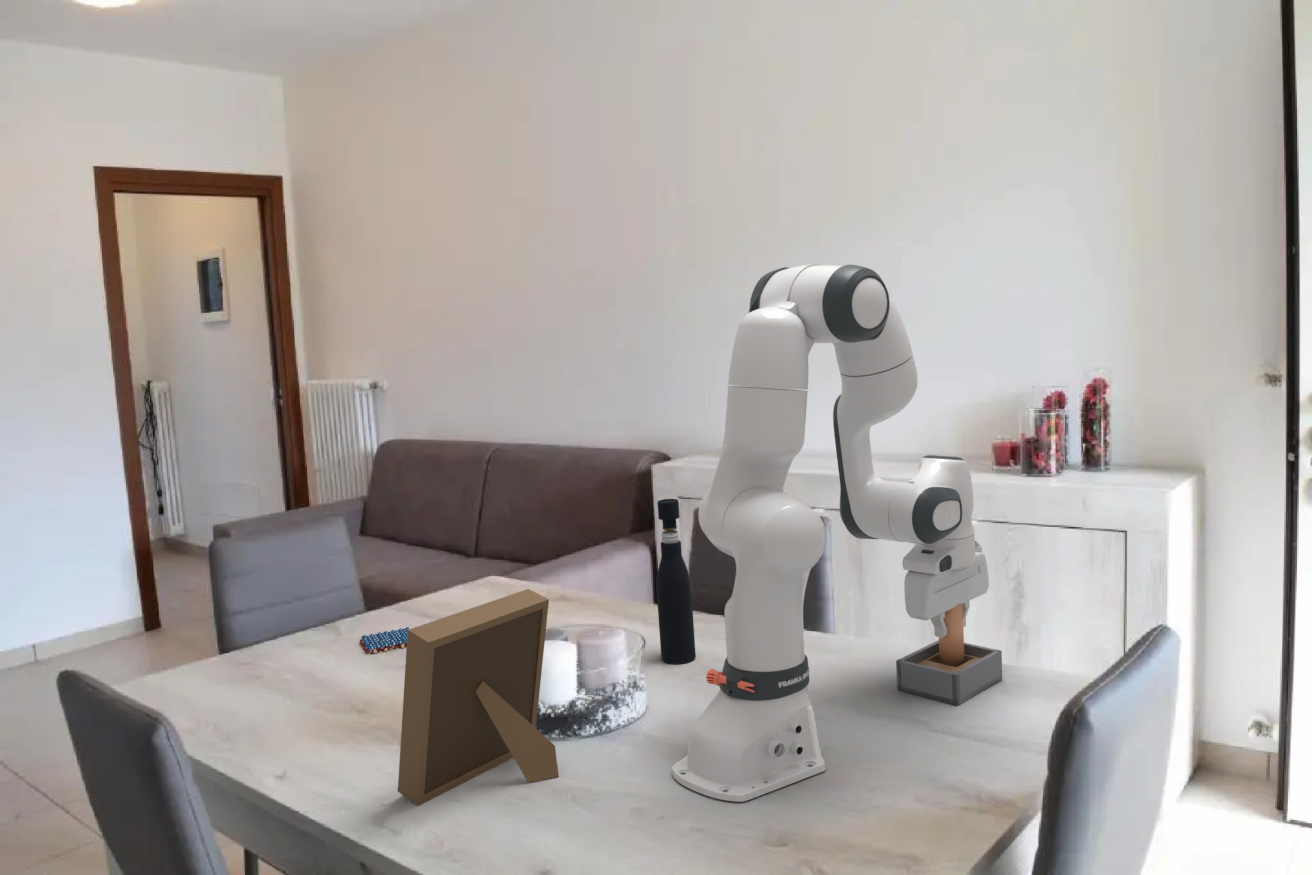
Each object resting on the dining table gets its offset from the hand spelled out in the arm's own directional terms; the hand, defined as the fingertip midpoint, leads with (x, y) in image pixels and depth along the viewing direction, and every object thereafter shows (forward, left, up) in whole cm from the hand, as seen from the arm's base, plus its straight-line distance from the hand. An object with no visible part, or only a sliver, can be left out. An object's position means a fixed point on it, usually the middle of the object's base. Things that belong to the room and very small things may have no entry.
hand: (950, 631), depth 168 cm
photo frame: (-72, +30, -8) cm, 78 cm away
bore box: (-3, -1, -8) cm, 9 cm away
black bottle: (-21, +45, -8) cm, 50 cm away
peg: (0, 0, -5) cm, 5 cm away
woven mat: (-51, +101, -9) cm, 113 cm away
